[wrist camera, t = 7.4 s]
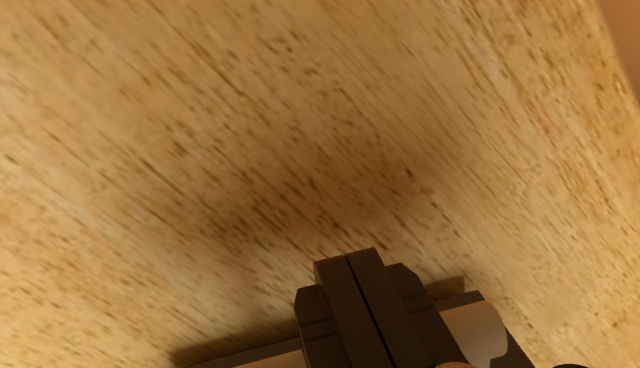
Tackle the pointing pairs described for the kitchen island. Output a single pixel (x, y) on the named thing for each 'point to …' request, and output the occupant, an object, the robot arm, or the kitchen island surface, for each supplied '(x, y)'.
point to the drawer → (458, 314)
